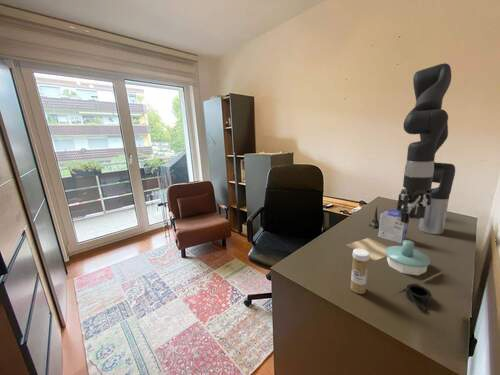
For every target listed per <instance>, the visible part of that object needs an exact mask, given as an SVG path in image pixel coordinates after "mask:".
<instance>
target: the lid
mask: <svg viewBox="0 0 500 375" xmlns="http://www.w3.org/2000/svg"><path fill="white" fill-rule="evenodd" d="M401 244H402V245H392V246H388V248H387V249H386V255H387V256H388V257H389V258H390V259H391V260H393V261H395V262H397V263H400V264H402V265H406V266H410V267H426V266H427V267H428V266H429V265H430V264H431V259H430V256H428V255H427V254H426V253H424V252H422V251H420V250H418V249H416V248H415V245H416V244H415V242H414V241H412V240H409V239H406V240H403V243H401ZM387 256H386V257H387Z"/></svg>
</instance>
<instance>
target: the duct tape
mask: <svg viewBox="0 0 500 375" xmlns="http://www.w3.org/2000/svg"><path fill="white" fill-rule="evenodd" d="M405 298H406V299H407V300H408V301H410V303H413V304H415V305H416V307H417V308H419V309H422V310H425V311H426V307H428V306H430V305H431V301H432V293H431V291H430V290H428V289H427V288H426V287H424V286H421V285H420V284H418V283H411V284H408V285H407V286H406V289H405Z"/></svg>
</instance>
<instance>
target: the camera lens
mask: <svg viewBox="0 0 500 375" xmlns="http://www.w3.org/2000/svg"><path fill="white" fill-rule="evenodd" d="M406 191H407V189H406V188H402V189H401V190H400V193H401V194H405V193H406ZM408 204H409V203H408ZM401 207H402V205H401ZM407 209H408V207H407ZM416 212H417V204H416V205H415V207H414V208H412V209H411V211H410V216H409V218H411V217H412V216H413V217H414V216H415V215H416V214H415V213H416ZM401 213H402V212H401V211H400V214H401Z"/></svg>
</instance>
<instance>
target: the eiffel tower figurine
mask: <svg viewBox="0 0 500 375" xmlns="http://www.w3.org/2000/svg"><path fill="white" fill-rule="evenodd" d="M379 224H380V221H379V219H378V205H376V206H375V212H374V216H373V219H372V221H371V222H370V223H369V224H368V226H369V227H371V226H372V229H373V230H375V229H376V227H378V228H379Z"/></svg>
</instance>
